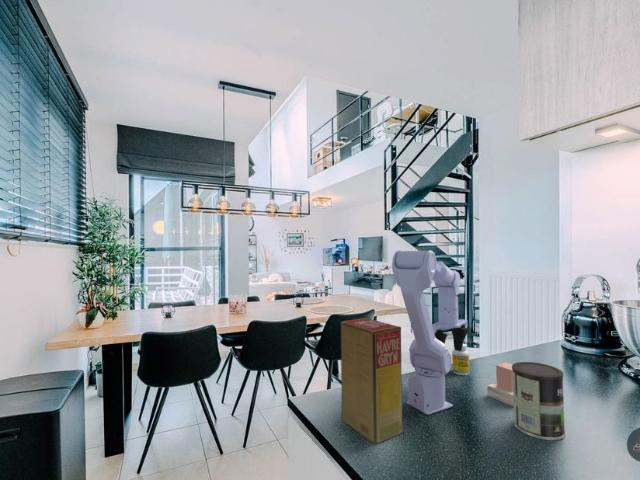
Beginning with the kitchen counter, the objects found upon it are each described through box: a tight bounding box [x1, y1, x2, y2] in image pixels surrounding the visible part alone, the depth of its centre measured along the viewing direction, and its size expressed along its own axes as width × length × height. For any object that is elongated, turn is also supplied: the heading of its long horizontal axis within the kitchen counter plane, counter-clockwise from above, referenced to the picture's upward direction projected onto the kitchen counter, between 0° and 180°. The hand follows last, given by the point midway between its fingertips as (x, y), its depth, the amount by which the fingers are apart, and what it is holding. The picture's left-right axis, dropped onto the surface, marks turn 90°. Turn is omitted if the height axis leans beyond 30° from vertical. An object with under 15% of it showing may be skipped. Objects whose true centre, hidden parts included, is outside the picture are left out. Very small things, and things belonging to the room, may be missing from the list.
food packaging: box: [340, 317, 404, 446], centre depth 83 cm, size 13×9×25 cm
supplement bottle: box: [451, 343, 471, 376], centre depth 116 cm, size 5×5×10 cm
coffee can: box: [512, 361, 566, 442], centre depth 80 cm, size 10×10×14 cm
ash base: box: [486, 381, 514, 408], centre depth 96 cm, size 8×8×3 cm
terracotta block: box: [495, 362, 514, 392], centre depth 96 cm, size 4×4×6 cm
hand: (449, 352), depth 105 cm, fingers open, 7 cm apart
